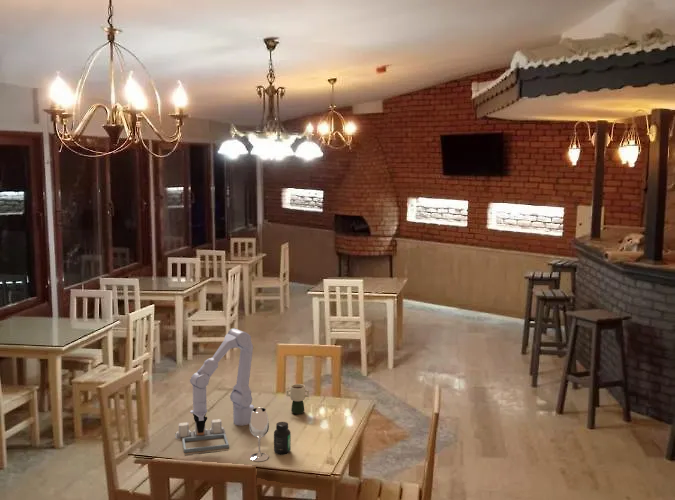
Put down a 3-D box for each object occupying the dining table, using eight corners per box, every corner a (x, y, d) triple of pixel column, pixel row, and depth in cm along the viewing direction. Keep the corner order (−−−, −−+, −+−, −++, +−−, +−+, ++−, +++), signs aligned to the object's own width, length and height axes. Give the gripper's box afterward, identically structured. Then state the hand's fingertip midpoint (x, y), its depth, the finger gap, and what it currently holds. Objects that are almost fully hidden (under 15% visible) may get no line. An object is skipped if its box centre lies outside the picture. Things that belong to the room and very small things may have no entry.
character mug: (309, 410, 323) (309, 384, 322) (308, 415, 316) (308, 389, 315) (287, 409, 324) (287, 383, 322) (285, 415, 317) (285, 388, 315)
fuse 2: (220, 429, 296) (220, 419, 295) (221, 432, 293) (221, 421, 292) (211, 430, 295) (211, 419, 294) (212, 433, 292) (212, 422, 291)
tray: (225, 439, 289) (225, 433, 289) (228, 450, 277) (228, 444, 277) (182, 443, 284) (182, 438, 284) (184, 455, 272) (184, 449, 272)
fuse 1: (188, 433, 292) (188, 422, 291) (188, 436, 289) (188, 425, 288) (178, 434, 291) (178, 423, 290) (179, 437, 288) (179, 425, 287)
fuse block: (223, 431, 298) (223, 424, 297) (225, 436, 292) (225, 430, 292) (175, 436, 292) (175, 429, 291) (175, 441, 286) (175, 435, 286)
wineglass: (260, 463, 266) (260, 414, 263) (245, 458, 270) (245, 410, 267) (273, 456, 272) (272, 408, 270) (257, 451, 276) (257, 405, 274)
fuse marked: (204, 431, 294) (204, 420, 293) (205, 434, 291) (205, 423, 290) (195, 432, 293) (195, 421, 292) (195, 435, 290) (195, 424, 289)
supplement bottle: (293, 452, 276) (293, 424, 274) (278, 456, 272) (278, 428, 270) (285, 446, 281) (285, 419, 280) (271, 450, 278) (270, 422, 276)
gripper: (189, 395, 296) (189, 425, 297) (191, 407, 282) (192, 438, 283) (205, 394, 298) (205, 423, 299) (208, 405, 284) (209, 436, 285)
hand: (200, 430), depth 292 cm, fingers closed on fuse marked, 3 cm apart
